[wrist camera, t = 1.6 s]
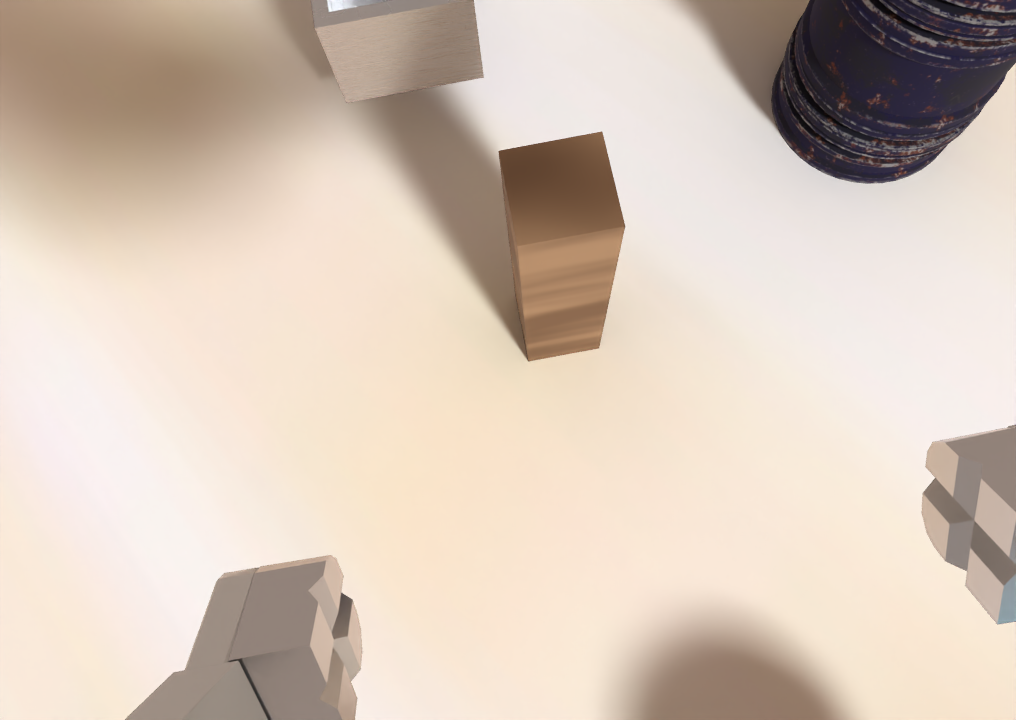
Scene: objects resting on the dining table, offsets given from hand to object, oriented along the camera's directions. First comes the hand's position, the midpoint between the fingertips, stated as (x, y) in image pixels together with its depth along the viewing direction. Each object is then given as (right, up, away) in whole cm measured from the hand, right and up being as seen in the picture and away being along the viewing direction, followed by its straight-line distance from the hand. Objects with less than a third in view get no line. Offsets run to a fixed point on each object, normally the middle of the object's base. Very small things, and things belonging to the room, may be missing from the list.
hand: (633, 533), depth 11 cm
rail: (+1, +4, +29) cm, 29 cm away
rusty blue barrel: (+17, +16, +32) cm, 39 cm away
